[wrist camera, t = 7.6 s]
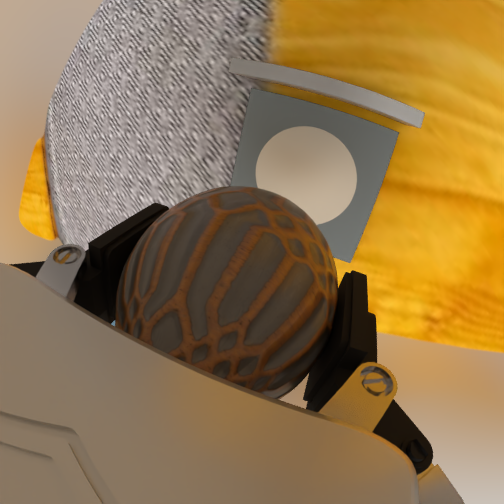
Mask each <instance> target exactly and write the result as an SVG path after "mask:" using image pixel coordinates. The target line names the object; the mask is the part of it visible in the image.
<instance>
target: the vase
mask: <svg viewBox="0 0 504 504" xmlns="http://www.w3.org/2000/svg"><path fill="white" fill-rule="evenodd" d="M337 300H338V281H337V271H336V266H335V262H334V259H333V255H332V253H331V250H330V247H329V245H328V243H327V241H326V239H325V237H324V235H323V234H322V232H321V231H320V229H319V228H318V226H317V225H316V223H315V222H314V221H313V220H312V219H311V217H310V216H309V215H308V214H307V213H306V212H305V211H303V210H302V209H301V208H300V207H299V206H297V205H296V204H295V203H293V202H292V201H290V200H288V199H287V198H285V197H283V196H281V195H279V194H276V193H274V192H271V191H268V190H264V189H260V188H254V187H247V186H229V187H220V188H214V189H210V190H207V191H204V192H201V193H199V194H196V195H194V196H192V197H189V198H187V199H185V200H184V201H182V202H180V203H178V204H177V205H175V206H173V207H172V208H170V209H169V210H168V211H166V212H165V213H164V214H162V215H161V216H160V217H159V218H158V219H157V220H156V221H155V222H154V223H153V224H152V225H151V226H150V227H149V228H148V229H147V230H146V231H145V233H144V234H143V235H142V237H141V238H140V239H139V241H138V242H137V244H136V245H135V247H134V249H133V250H132V252H131V254H130V256H129V258H128V260H127V262H126V264H125V266H124V268H123V271H122V274H121V277H120V280H119V285H118V290H117V296H116V313H115V327H117V328H118V329H120V330H122V331H124V332H126V333H128V334H129V335H131V336H133V337H135V338H137V339H139V340H141V341H143V342H145V343H147V344H148V345H150V346H152V347H154V348H156V349H158V350H160V351H162V352H165V353H167V354H169V355H171V356H173V357H175V358H177V359H179V360H181V361H183V362H186V363H188V364H190V365H192V366H195V367H197V368H199V369H201V370H204V371H206V372H208V373H210V374H213V375H215V376H218V377H220V378H222V379H225V380H227V381H230V382H232V383H235V384H237V385H240V386H242V387H245V388H248V389H250V390H253V391H256V392H258V393H261V394H264V395H267V396H269V397H272V398H275V399H278V400H279V399H281V398H282V397H284V396H285V395H286V394H288V393H289V392H291V391H292V390H293V389H294V388H295V387H296V386H297V385H298V384H299V383H300V382H301V381H302V380H303V379H304V378H305V377H306V376H307V374H308V373H309V372H310V371H311V369H312V368H313V367H314V365H315V364H316V362H317V360H318V359H319V357H320V356H321V354H322V352H323V350H324V348H325V346H326V344H327V342H328V340H329V337H330V334H331V332H332V329H333V325H334V321H335V316H336V310H337Z"/></svg>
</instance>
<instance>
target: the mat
mask: <svg viewBox="0 0 504 504" xmlns="http://www.w3.org/2000/svg"><path fill="white" fill-rule="evenodd" d="M398 134H399V133H398V132H396V131H394V130H391V129H389V128H386V127H384V126H381V125H378V124H376V123H373V122H370V121H368V120H365V119H362V118H359V117H356V116H353V115H350V114H347V113H344V112H341V111H338V110H335V109H332V108H329V107H325V106H322V105H318V104H315V103H311V102H308V101H304V100H300V99H296V98H293V97H289V96H284V95H280V94H276V93H272V92H267V91H262V90H257V89H252V88H251V92H250V96H249V101H248V105H247V110H246V114H245V119H244V123H243V128H242V132H241V137H240V142H239V146H238V151H237V156H236V161H235V166H234V171H233V176H232V180H231V186H247V187H254V188H260V189H264V190H268V191H271V192H274V193H276V194H279V195H281V196H283V197H285V198H287V199H288V200H290V201H292V202H293V203H295V204H296V205H297V206H299V207H300V208H301V209H302V210H303V211H305V212H306V213H307V214H308V215H309V216H310V217H311V219H312V220H313V221H314V222H315V223H316V225H317V226H318V228H319V229H320V231H321V232H322V234H323V235H324V237H325V239H326V241H327V243H328V245H329V247H330V250H331V253H332V255H333V257H334V258H337V259H340V260H343V261H346V262H348V263H350V262H351V260H352V257H353V255H354V253H355V250H356V248H357V246H358V243H359V241H360V239H361V236H362V234H363V231H364V229H365V226H366V224H367V221H368V219H369V216H370V214H371V211H372V209H373V206H374V204H375V201H376V198H377V196H378V193H379V190H380V187H381V185H382V182H383V179H384V176H385V173H386V171H387V168H388V165H389V162H390V159H391V156H392V153H393V150H394V147H395V144H396V141H397V137H398Z"/></svg>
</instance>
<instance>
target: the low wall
mask: <svg viewBox="0 0 504 504" xmlns="http://www.w3.org/2000/svg"><path fill="white" fill-rule="evenodd" d="M229 73H233V74H237V75H240V76H244V77H247V78H251V79H256V80H261V81H266V82H271V83H276V84H280V85H285V86H289V87H293V88H297V89H301V90H305V91H309V92H312V93H316V94H320V95H323V96H327V97H330V98H333V99H337V100H340V101H343V102H346V103H349V104H352V105H355V106H358V107H361V108H364V109H367V110H369V111H372V112H375V113H378V114H380V115H383V116H385V117H388V118H390V119H393V120H395V121H398V122H400V123H403V124H405V125H408V126H413V127H417V128H421V125H422V121H423V118H424V114H425V113H424V112H422V111H420V110H418V109H415V108H413V107H411V106H409V105H406V104H404V103H401V102H399V101H396V100H394V99H391V98H389V97H386V96H384V95H381V94H378V93H376V92H373V91H370V90H367V89H364V88H361V87H358V86H355V85H352V84H349V83H346V82H343V81H340V80H336V79H333V78H329V77H326V76H322V75H318V74H315V73H311V72H307V71H303V70H298V69H294V68H289V67H285V66H280V65H275V64H270V63H264V62H259V61H253V60H246V59H240V58H231V63H230V67H229Z"/></svg>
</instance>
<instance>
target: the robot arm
mask: <svg viewBox="0 0 504 504" xmlns="http://www.w3.org/2000/svg"><path fill="white" fill-rule="evenodd" d="M168 210H169V208H168V207H167V206H164V205H161V204H158V203H154V204H152V205H150V206H148V207H147V208H145V209H143V210H141V211H140V212H138V213H136V214H135V215H133V216H131V217H130V218H128V219H126V220H125V221H123V222H121V223H120V224H118V225H116V226H115V227H113V228H112V229H110V230H108V231H107V232H105V233H104V234H102V235H100V236H99V237H97V238H96V239H94V240H93V241H91V242H90V243H88V245H89V249H88V250H87V251H85V250H84V249H83V248H82V247H81V246H79V245H74V244H67V245H62V246H59V247H57V248H56V249H54V250H53V251H52V252H51V253H50V255H49V256H48V258H47V260H46V261H42V262H32V263H22V264H10V265H8V264H3V263H0V504H464V502H463V500H462V498H461V497H460V495H459V494H458V492H457V491H456V489H455V488H454V487H453V485H452V484H451V482H450V481H449V479H448V478H447V477H446V475H445V474H444V472H443V471H442V470H441V468H440V467H439V465H438V464H437V465H436V466H434V465H433V464H432V459H433V450H432V447H431V444H430V443H429V441H428V440H427V438H426V437H425V436H424V435H423V434H422V433H421V431H420V430H419V429H418V428H417V427H416V425H415V424H414V423H413V422H412V421H411V419H410V418H409V417H408V416H407V415H406V413H405V412H404V411H403V410H402V409H401V408H400V407H399V405H398V404H397V403H396V402H395V400H394V399H393V398H394V396H395V395H396V392H397V381H396V379H395V377H394V375H393V374H392V372H391V371H390V370H388V369H387V368H386V367H385V366H383V365H381V364H378V363H377V332H376V316H375V315H374V314H372V313H369V312H368V294H367V276H366V275H365V274H362V273H359V272H356V271H353V270H352V271H351V273H348V272H346V273H345V275H344V277H343V279H342V281H341V283H340V285H339V288H338V300H337V310H336V316H335V321H334V325H333V329H332V332H331V334H330V337H329V340H328V342H327V344H326V346H325V348H324V350H323V352H322V354H321V356H320V357H319V359H318V360H317V362H316V364H315V365H314V367H313V368H312V369H311V371H310V372H309V376H308V381H307V385H306V389H305V393H304V397H303V400H305V401H308V402H307V407H306V409H304V408H301V407H298V406H295V405H292V404H289V403H286V402H284V401H281V400H278V399H275V398H272V397H269V396H267V395H264V394H261V393H258V392H256V391H253V390H250V389H248V388H245V387H242V386H240V385H237V384H235V383H232V382H230V381H227V380H225V379H222V378H220V377H218V376H215V375H213V374H210V373H208V372H206V371H204V370H201V369H199V368H197V367H195V366H192V365H190V364H188V363H186V362H183V361H181V360H179V359H177V358H175V357H173V356H171V355H169V354H167V353H165V352H162V351H160V350H158V349H156V348H154V347H152V346H150V345H148V344H147V343H145V342H143V341H141V340H139V339H137V338H135V337H133V336H131V335H129V334H128V333H126V332H124V331H122V330H120V329H118V328H117V327H115V326H113V325H111V323H112V322H113V321H114V320H115V313H116V296H117V290H118V285H119V280H120V277H121V274H122V271H123V268H124V266H125V264H126V262H127V260H128V258H129V256H130V254H131V252H132V250H133V249H134V247H135V245H136V244H137V242H138V241H139V239H140V238H141V237H142V235H143V234H144V233H145V231H146V230H147V229H148V228H149V227H150V226H151V225H152V224H153V223H154V222H155V221H156V220H157V219H158V218H159V217H160V216H161V215H162V214H164V213H165V212H166V211H168Z"/></svg>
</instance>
